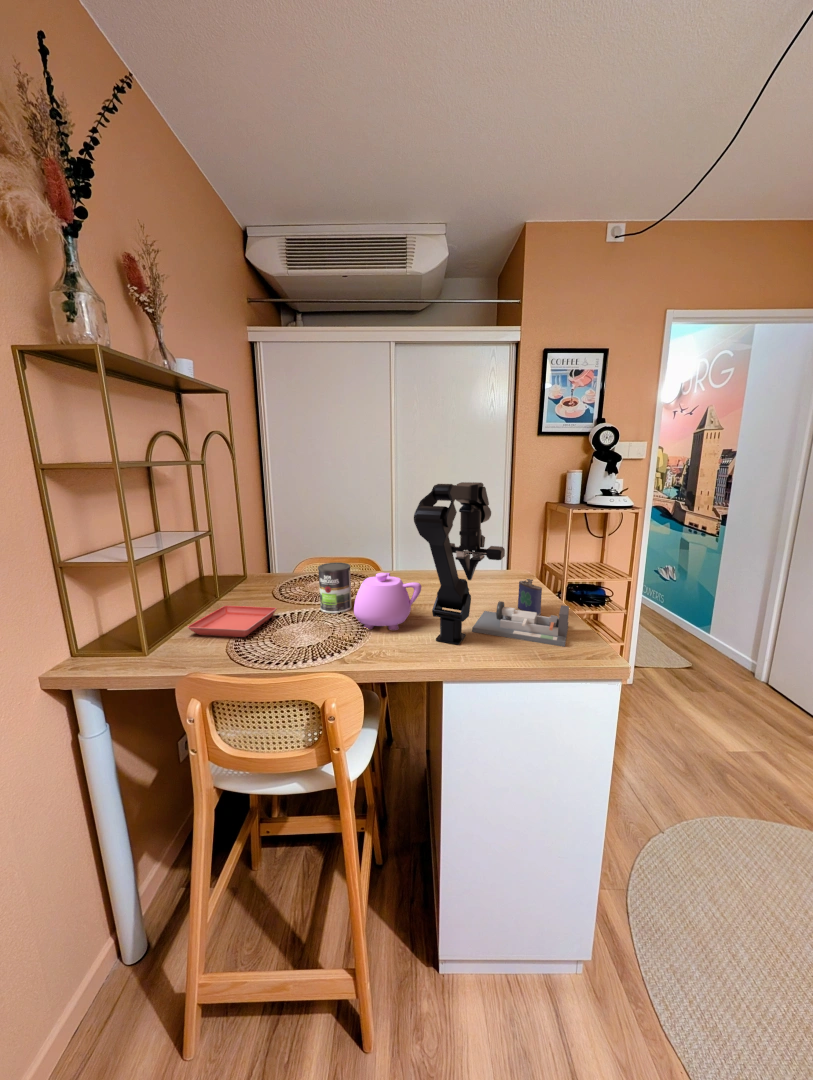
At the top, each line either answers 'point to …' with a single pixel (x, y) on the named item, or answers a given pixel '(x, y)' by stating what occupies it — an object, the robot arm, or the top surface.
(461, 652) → the top surface
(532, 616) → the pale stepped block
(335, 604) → the coffee can
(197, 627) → the plant saucer
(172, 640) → the top surface
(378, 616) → the teapot
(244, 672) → the top surface
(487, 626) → the gauge bench
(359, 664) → the top surface
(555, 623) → the marker
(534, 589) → the flask
